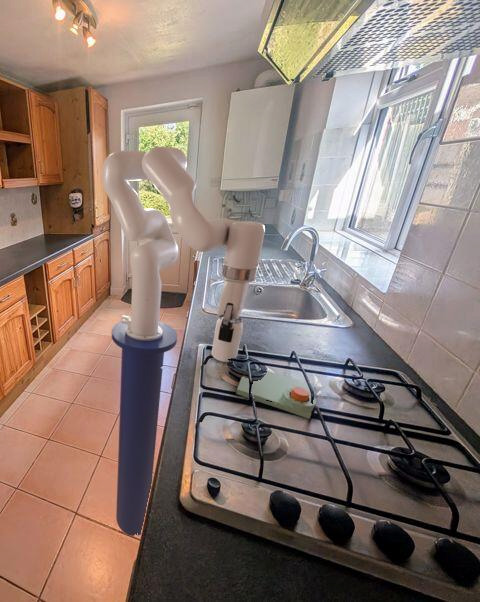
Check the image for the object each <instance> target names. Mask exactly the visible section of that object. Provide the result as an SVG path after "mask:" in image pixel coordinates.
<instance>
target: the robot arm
mask: <svg viewBox="0 0 480 602" xmlns="http://www.w3.org/2000/svg"><path fill="white" fill-rule="evenodd" d="M187 166H188V159H187V156H186V154H185V152H184V151H183V150H182V149H180V148H177V147H171V146H154V147H152V148H150V149H149V150H147V151H139V150H125V149H124V150H116V151H113V152H112V153H110V154H109V155H108V156H107V157H106V158H105V160H104V162H103V164H102V167H101V182H102V186H103V189H104V192H105V193H106V195H107V197H108V199H109V201H110V203H111V205H112V207H113V210H114V212H115V215H116V217H117V220H118V222H119V225H120V228H121V230H122V232H123V234H124V236H125V238H126V239H127V240H128V241H130V242H131V241H132V242H138V241H144V240H147V241H146V242H143V243H140V244H138V245H136V246H135V247H134V248H133V250H132V251H131V253H130V257H129V261H130V269H131V279H132V280H131V303H130V304H131V305H130V306H131V307H130V316H127V315H124V314H122V315H121V317H120V318H121V319H120V322H121V323H124V324H127V325H128V326H127V327H126V333H127V335H128V336H130V337H131V338H133V339H136V340H141V341H152V340H156V339H159V338H160V337H161V336H162V333H163V331H162V329H161V328H160V327H159V326H158V325H159V321H160V312H161V301H162V285H163V284H162V279H161V275H160V271H161V270H163V269H166V268H168V267H171V266H173V265H174V264H175V263H176V262H177V261H178V258H179V246H178V242H177V241H176V238H175V236H174V234H173V230H172V229H171V226H170V224H169V222H168V219H167V217H166V216H165V214H163V212H162V211H160V210H159V209H156V208H144V206H143V203H142V202H141V199H140V196H139V194H138V192H137V191H136V190H135V189H134V187H133V186H131V184H130V183H129V181H130V182H131V181H132V182H133V181H149V182H150V183H151V184H152V186H154V188H155V189H156V190H157V191H158V193H159V194H160V195H161V197H162V198H163V199H164V200H165V201H166V203H167V204H168V210H169V216H170V219H171V223H172V226H173V228H174V229H175V230H176V232H177V233H178V234H179V236H180V237H181V238H182V240H183V241H184V242H185V243H186V244H187V245H188V246H189V247H190V248H191V249H193V250H194V251H196V252H199V253H207V252H210V251H213V250H215V249H216V250H217V249H220V248H225V254H224V261H223V268H222V274H221V278H222V279H224V281H223V286H222V289H221V293H220V298H219V302H218V306H217V307H218V309H217V313H216V315H217V317H219V316H222V315H223V318H222V322H221V326H220V330H219V336H218V339H219V340H221V341H225V342H229V343H230V342H231V341H232V336H233V331H234V329H233V325H234V321H235V319H237V318H238V317H240V315H241V314H242V312H243V309H244V306H245V303H246V299H247V295H248V290H249V285H250V283H252V282H255V281H256V277H257V272H258V267H259V262H260V258H261V252H262V248H263V242H264V238H265V233H266V227H265V225H264V224H263V223H261V222H258V221H248V220H247V221H246V220H244V221H239V220H234V219H230V218H226V217H218V218H211V219H206V217H205V216H204V215H203V214H202V213H201V212H200V210H199V209H198V208H197V206H196V204H195V202H194V200H193V194H194V193H195V191H196V188H197V182H196V180H194V178H193V177H192V176H191V175H190V173H189V172H188V171H187ZM231 315H234V316H233V317H230V316H231ZM229 319H232V321H231V322H229Z"/></svg>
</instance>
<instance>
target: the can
mask: <svg viewBox="0 0 480 602" xmlns="http://www.w3.org/2000/svg"><path fill="white" fill-rule="evenodd" d="M233 316H234V315H231V316H230V317H233ZM222 318H223V314H222V316H218V319H217V321H216V324H215V328H214V329H215V330H214V334H213V336H214V337H213V341H212V346H211V347H212V348H211V356H212V358H214V360H216V361H218V362H221V363H226V364H229V362H228V361H229V360H228V359H231V358H236V357H237V358H238V354H239V348H240V344H241V339H242V335H243V328H244V325H243V319H242V318H241V317H240V316H239V317H238V318H237V319H235V321H234V325H233V329H234V331H233V336H232V341H231V342H230V343H229V342H225V341H221V340H219V339H218V336H219V330H220V326H221V322H222ZM231 321H232V319H229V322H231ZM237 358H236V359H237Z"/></svg>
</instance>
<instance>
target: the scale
mask: <svg viewBox="0 0 480 602" xmlns="http://www.w3.org/2000/svg"><path fill="white" fill-rule="evenodd" d="M266 371H267V373H266V375H265V376H264V377H263V378H262V379H261V380H258V381H253V384H252V394H253V395H254V399H255V400H254V401H255V402H259V403H262V404H264V405H267V406H271V407H273V408H275V409H276V408H277V409H279V410H281V411H285V412H288V413H291V414H294V415H297V416H299V417H303V418H305V419H308V420H310V419H311V416H312V412H313V411H314V410H313V408H314V407H315V408H316V406H317V399H316V397H314V400H313V404H312V403H311V394H310V390H309V388H308V385H307V383H306V382H307V381H304V380H301V379H297V378H293V377H290V376H287V375H283V374H279V373H276V372H272V371H269V370H266ZM311 385H312V386H313V383H311ZM294 387H301V388H303V389H305V390H307V391H308V392H309V397H308V400H307V402H300V401H297V400H295V399H293V398H292V397H291V392H292V389H293V388H294ZM235 394H236V395H238V396H241V397H245V398H247V399H250V398H249V379H248V378H245V377H242V376H241V378H240V380H239V382H238V385H237V389H236V392H235ZM266 400H269V401H272V402H273V403H272V402H269V401H266ZM275 403H276V404H275ZM312 410H313V411H312Z"/></svg>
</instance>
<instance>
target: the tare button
mask: <svg viewBox="0 0 480 602" xmlns="http://www.w3.org/2000/svg"><path fill="white" fill-rule="evenodd" d="M291 397H292V398H293V399H295V400H297V401H300V402H307V400H308V397H309V392H308V391H307V390H305V389H303V388H301V387H294V388H293V389H292V392H291Z"/></svg>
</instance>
